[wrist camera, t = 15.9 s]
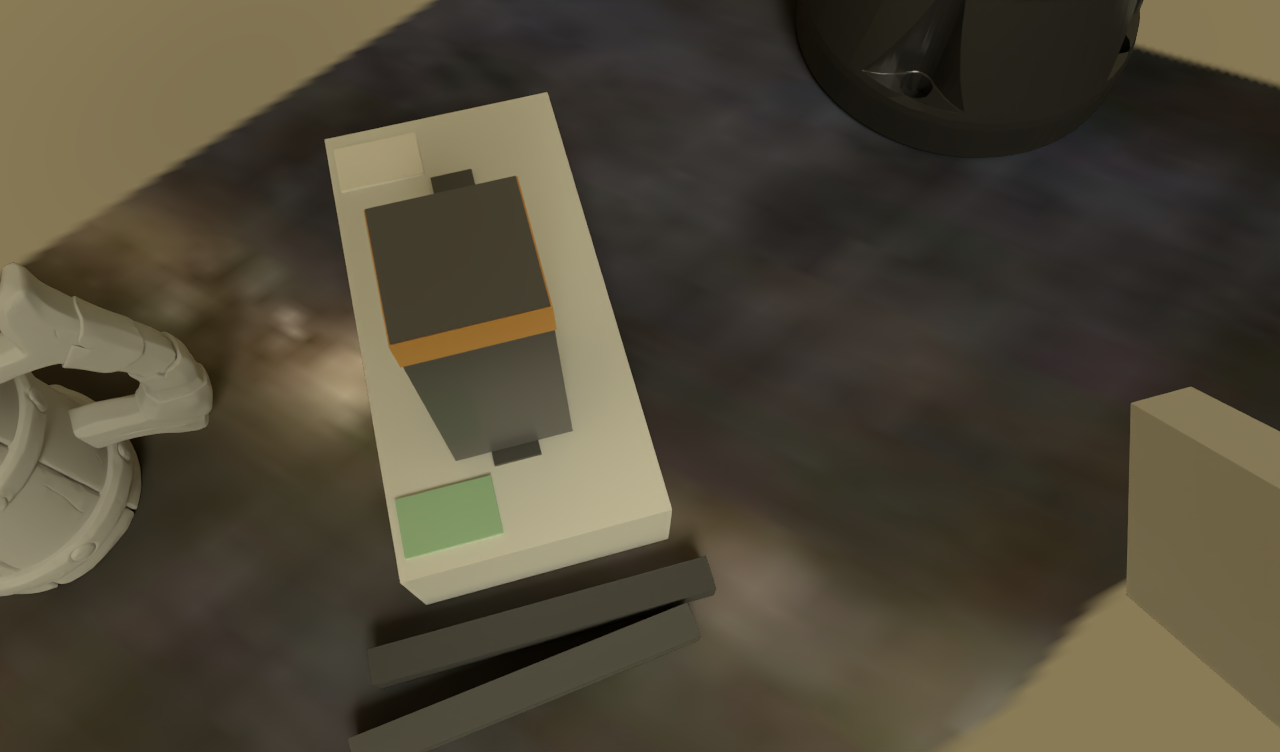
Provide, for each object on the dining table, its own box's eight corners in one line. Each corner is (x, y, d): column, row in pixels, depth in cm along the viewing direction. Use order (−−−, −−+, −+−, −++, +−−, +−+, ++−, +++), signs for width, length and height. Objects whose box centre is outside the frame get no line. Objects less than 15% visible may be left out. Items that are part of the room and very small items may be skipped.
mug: (-78, 456, 35) (-405, 308, 24) (226, 333, 37) (54, 146, 26) (-43, 641, 32) (-393, 570, 21) (283, 497, 34) (118, 365, 23)
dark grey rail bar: (703, 562, 33) (706, 555, 32) (713, 594, 33) (716, 588, 32) (376, 654, 32) (366, 649, 31) (381, 688, 32) (372, 685, 30)
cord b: (685, 608, 33) (687, 602, 32) (698, 640, 32) (700, 635, 31) (357, 740, 31) (347, 738, 30) (366, 776, 30) (357, 776, 29)
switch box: (555, 153, 41) (547, 89, 37) (668, 538, 34) (672, 508, 30) (352, 198, 40) (323, 137, 36) (426, 604, 33) (399, 582, 29)
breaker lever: (546, 327, 32) (516, 173, 24) (574, 432, 31) (552, 305, 23) (432, 355, 32) (362, 207, 24) (454, 462, 30) (388, 345, 22)
